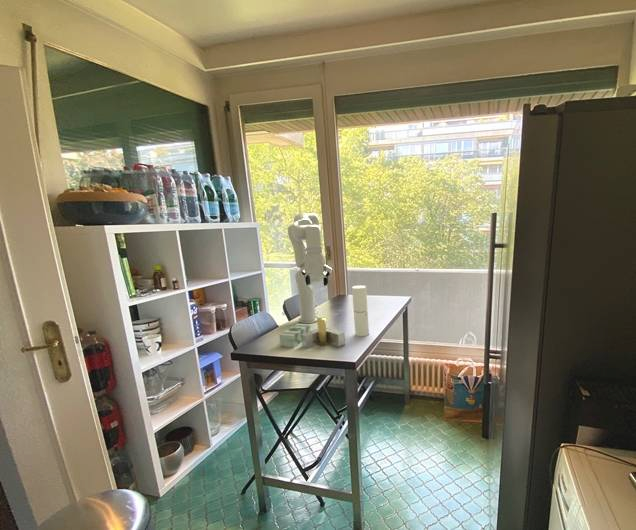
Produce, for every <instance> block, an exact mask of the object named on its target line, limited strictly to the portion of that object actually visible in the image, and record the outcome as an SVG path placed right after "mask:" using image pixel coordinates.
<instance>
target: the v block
mask: <svg viewBox="0 0 636 530" xmlns="http://www.w3.org/2000/svg"><path fill="white" fill-rule="evenodd" d="M326 331H327V343H328V344H330V345H332V346H335V347H339V348H340V347H342V346H344V345H346V338H345V337H346V336H345V332H344V331H341V330H338V329H334V328H330V327H326ZM301 341H302V342H301V346H302V347H303V348H305V347H306V348H305V349H308V348H311V347H313V346H316V345H319V333H318V328H315V329H313V330H311V331H309V332H306V333H303V334H301Z"/></svg>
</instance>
